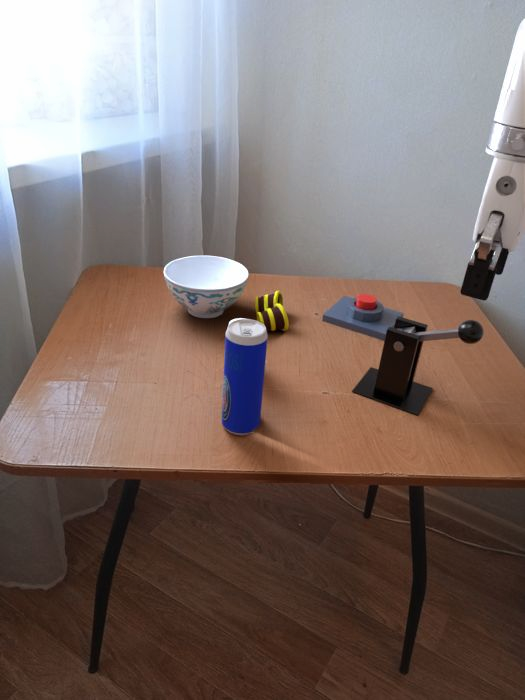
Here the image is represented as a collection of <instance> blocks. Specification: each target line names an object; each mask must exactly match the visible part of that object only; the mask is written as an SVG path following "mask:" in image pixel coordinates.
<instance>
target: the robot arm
mask: <svg viewBox="0 0 525 700" xmlns="http://www.w3.org/2000/svg"><path fill="white" fill-rule="evenodd" d="M501 86H502V87H501V91H500V94H499V97H498V101H497V106H496V109H495V113H494V117H493V121H492V124H491V127H490V131H489V136H488V139H487V143H486V146H485V153H486V154H488V155H490V156H492V157H493V160H492V163H491V167H490V170H489V173H488V176H487V180H486V183H485V186H484V190H483V194H482V198H481V201H480V205H479V209H478V212H477V216H476V220H475V225H474V229H473V234H472V241H473V242H474V244H475V246H474V249H473V251H472V253H471V256H470V258H469V259H470V260H469V261H468V262H467V266H466V269H465V273H464V277H463V280H462V284H461V288H460V291H459V292H460V294H461V295H462V296H465V297H468V298H472V299H476V300H479V301H483V302H484V301H487V300H488V299H489V296H490V293H491V290H492V286H493V283H494V280H495V277H496V275H497V276H500V275H502V274H503V272H504V269H505V266H506V263H507V260H508V257H509V254H510V253H512V252H514V251H516V250H517V249H518V247H519V245H520V243H521V241H522V240H523V237H524V235H525V17H524V18H523V20H521V22H520V24H519V25H518V27H517V30H516V34H515V38H514V41H513V45H512V48H511V52H510V56H509V60H508V64H507V68H506V71H505V74H504V79H503V82H502V85H501Z"/></svg>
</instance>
